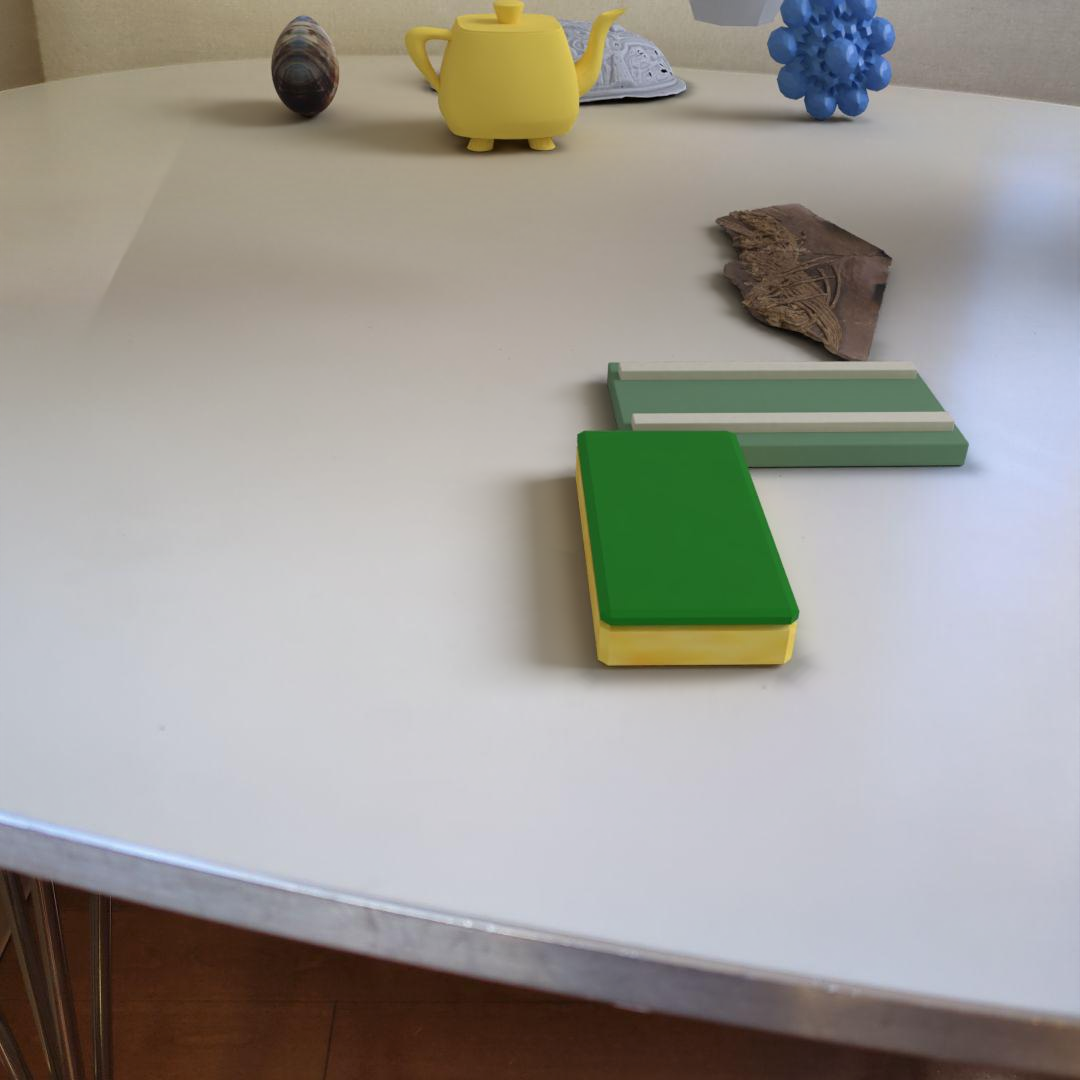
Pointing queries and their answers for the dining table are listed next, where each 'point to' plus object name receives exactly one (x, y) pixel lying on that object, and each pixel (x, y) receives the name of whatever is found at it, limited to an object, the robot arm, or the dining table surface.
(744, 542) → the dish sponge
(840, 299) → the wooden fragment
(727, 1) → the salt shaker
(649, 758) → the dining table surface
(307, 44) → the seashell
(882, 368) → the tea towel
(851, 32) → the blue knobbly round piece
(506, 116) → the teapot
